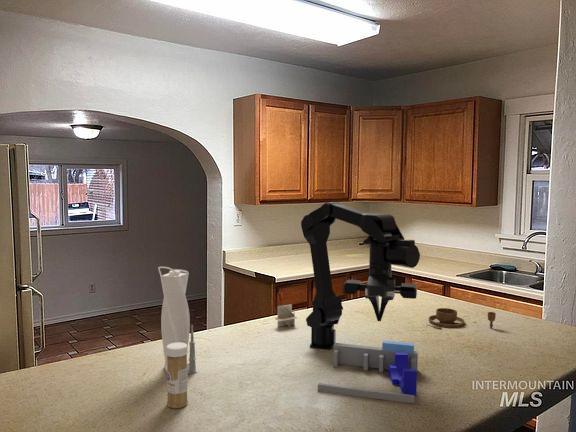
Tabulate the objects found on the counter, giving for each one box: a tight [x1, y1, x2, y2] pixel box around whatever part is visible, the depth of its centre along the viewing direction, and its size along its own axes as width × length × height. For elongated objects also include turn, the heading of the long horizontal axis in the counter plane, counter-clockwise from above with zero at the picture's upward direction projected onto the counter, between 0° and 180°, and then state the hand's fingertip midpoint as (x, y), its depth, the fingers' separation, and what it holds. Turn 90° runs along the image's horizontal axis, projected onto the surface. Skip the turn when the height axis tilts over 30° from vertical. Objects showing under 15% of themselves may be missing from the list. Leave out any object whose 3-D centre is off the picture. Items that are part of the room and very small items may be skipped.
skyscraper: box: [157, 266, 198, 376], centre depth 125 cm, size 8×8×28 cm
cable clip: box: [388, 353, 418, 397], centre depth 117 cm, size 12×4×6 cm, turn 177°
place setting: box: [427, 307, 497, 330], centre depth 165 cm, size 18×20×6 cm
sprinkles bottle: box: [166, 342, 189, 409], centre depth 106 cm, size 5×5×13 cm
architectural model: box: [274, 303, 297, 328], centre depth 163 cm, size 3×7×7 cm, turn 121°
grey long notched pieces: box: [317, 340, 419, 404], centre depth 120 cm, size 22×20×7 cm
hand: (379, 320), depth 128 cm, fingers closed
